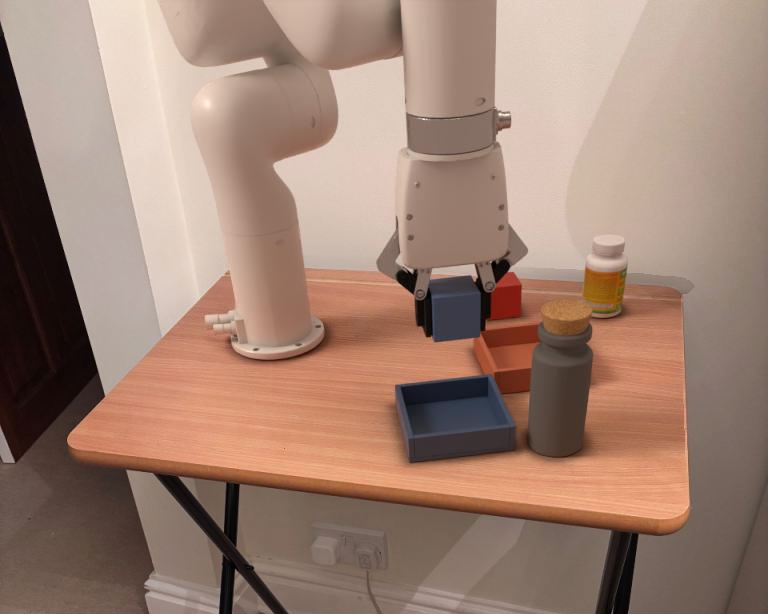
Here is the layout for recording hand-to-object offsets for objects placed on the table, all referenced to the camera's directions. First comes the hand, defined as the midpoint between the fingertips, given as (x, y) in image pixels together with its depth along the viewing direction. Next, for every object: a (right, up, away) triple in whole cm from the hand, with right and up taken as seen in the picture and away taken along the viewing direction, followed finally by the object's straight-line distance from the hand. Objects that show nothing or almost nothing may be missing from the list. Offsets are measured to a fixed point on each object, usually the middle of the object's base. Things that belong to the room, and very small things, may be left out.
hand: (453, 326), depth 78 cm
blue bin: (+1, -9, +8) cm, 12 cm away
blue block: (0, 0, 0) cm, 0 cm away
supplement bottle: (+23, +9, +28) cm, 37 cm away
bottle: (+11, -11, +4) cm, 16 cm away
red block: (+9, +9, +30) cm, 32 cm away
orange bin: (+11, -1, +17) cm, 20 cm away
